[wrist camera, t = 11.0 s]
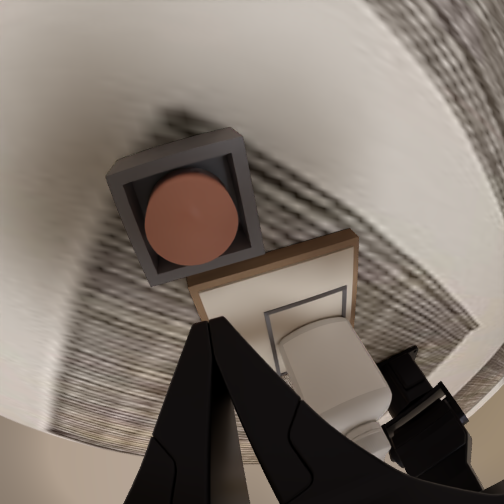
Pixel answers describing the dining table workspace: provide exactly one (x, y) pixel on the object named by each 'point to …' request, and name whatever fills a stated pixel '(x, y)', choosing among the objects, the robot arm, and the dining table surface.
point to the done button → (190, 217)
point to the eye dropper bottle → (339, 380)
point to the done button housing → (176, 157)
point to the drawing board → (282, 291)
